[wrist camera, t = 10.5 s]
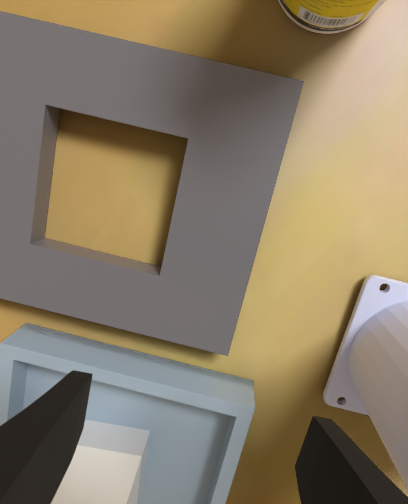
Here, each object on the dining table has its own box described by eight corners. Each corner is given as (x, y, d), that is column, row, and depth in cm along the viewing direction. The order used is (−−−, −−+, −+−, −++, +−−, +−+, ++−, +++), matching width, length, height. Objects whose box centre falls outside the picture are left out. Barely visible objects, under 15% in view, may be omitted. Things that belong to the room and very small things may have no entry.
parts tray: (253, 380, 22) (255, 408, 19) (200, 554, 25) (196, 595, 23) (26, 323, 22) (0, 342, 20) (6, 501, 26) (-18, 537, 23)
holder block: (298, 87, 18) (303, 81, 16) (228, 342, 21) (227, 356, 20) (-19, 14, 18) (-41, 1, 17) (-36, 276, 22) (-55, 284, 20)
